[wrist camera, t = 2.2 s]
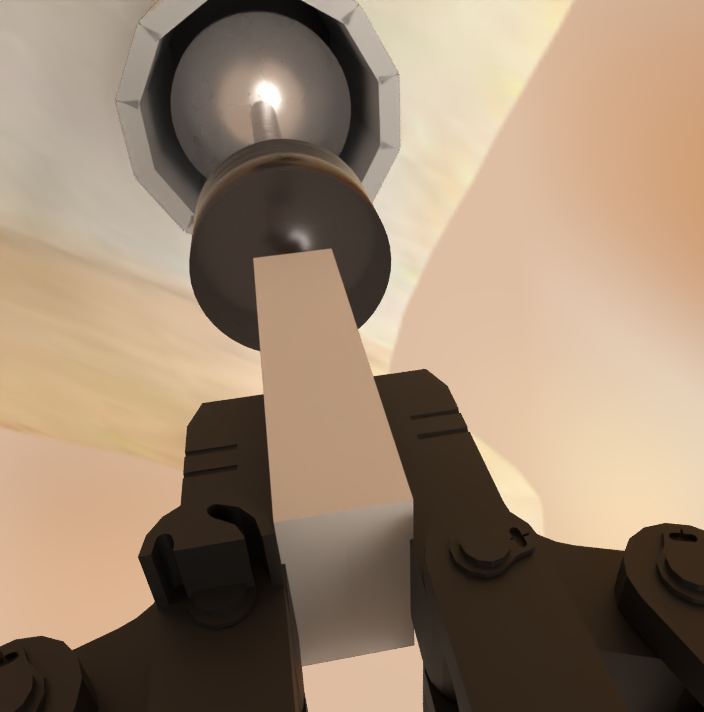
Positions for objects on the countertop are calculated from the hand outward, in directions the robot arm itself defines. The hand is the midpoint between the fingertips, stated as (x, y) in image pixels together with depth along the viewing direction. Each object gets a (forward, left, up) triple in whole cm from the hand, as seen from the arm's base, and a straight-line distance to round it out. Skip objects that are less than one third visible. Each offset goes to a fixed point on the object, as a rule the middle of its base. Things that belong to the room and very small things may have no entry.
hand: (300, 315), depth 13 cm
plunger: (0, 0, -17) cm, 17 cm away
